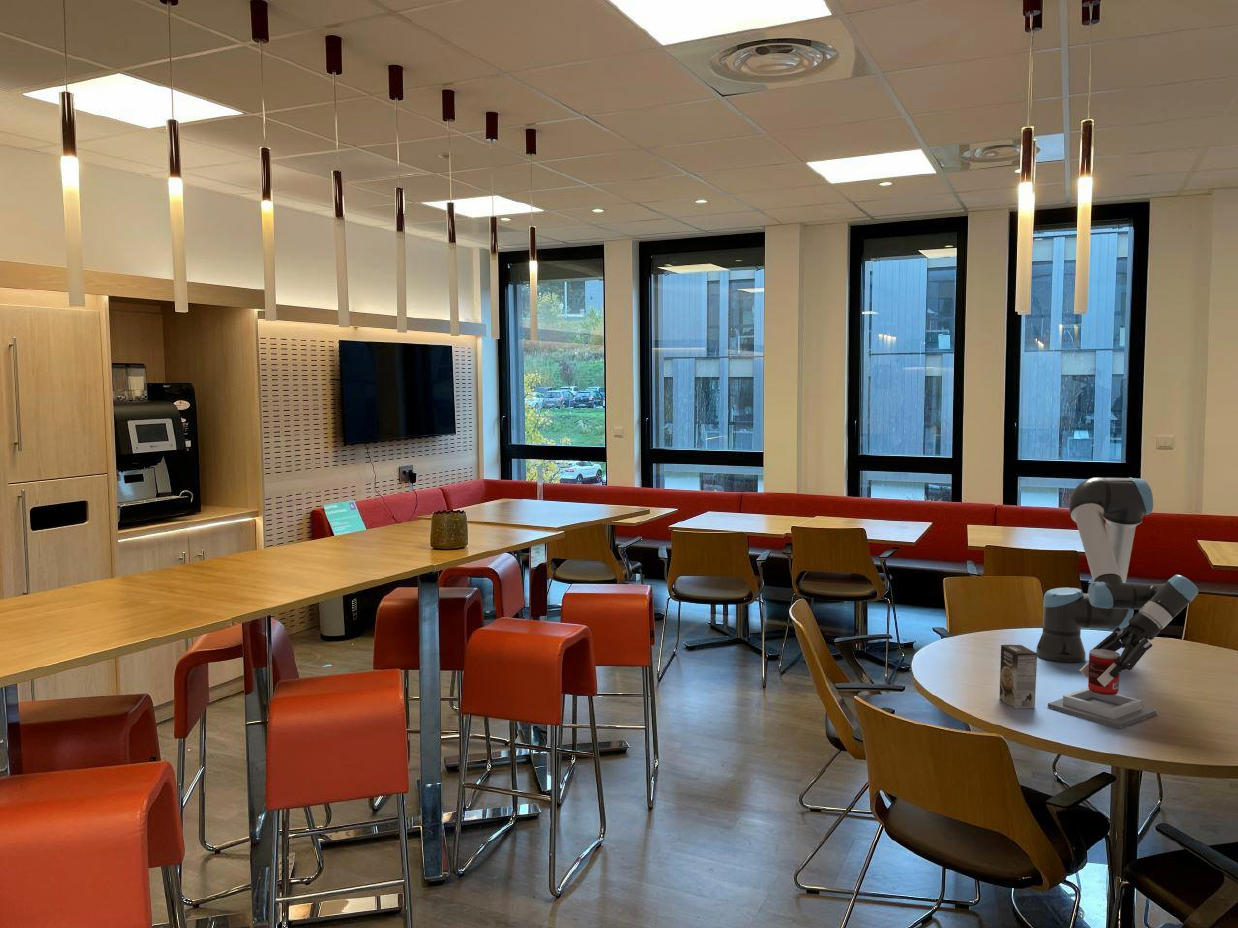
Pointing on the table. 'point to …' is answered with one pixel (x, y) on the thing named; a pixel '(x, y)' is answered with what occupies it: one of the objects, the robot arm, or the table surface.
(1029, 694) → the coffee box
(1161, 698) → the table surface
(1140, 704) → the end holder
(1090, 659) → the canned food
